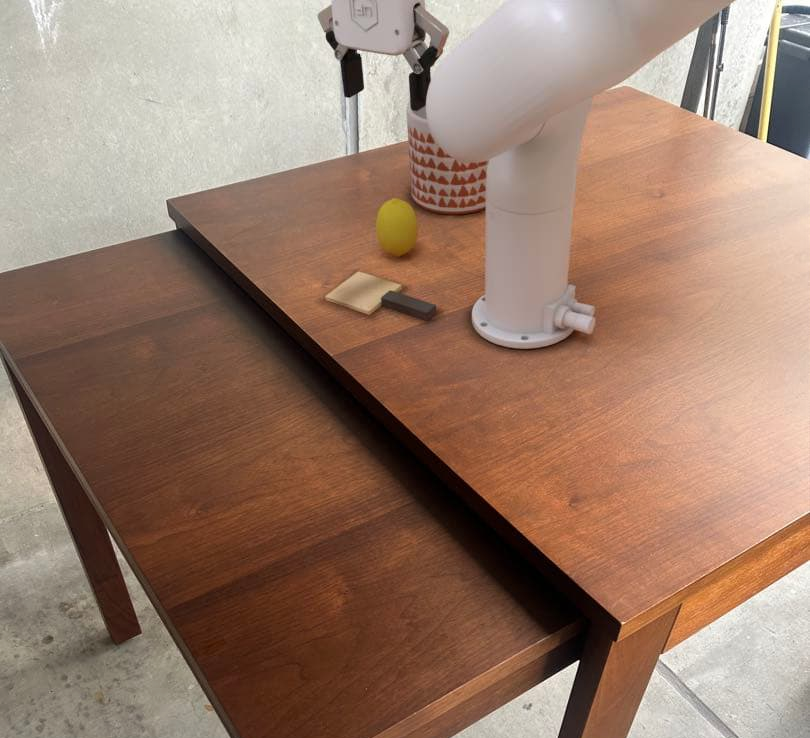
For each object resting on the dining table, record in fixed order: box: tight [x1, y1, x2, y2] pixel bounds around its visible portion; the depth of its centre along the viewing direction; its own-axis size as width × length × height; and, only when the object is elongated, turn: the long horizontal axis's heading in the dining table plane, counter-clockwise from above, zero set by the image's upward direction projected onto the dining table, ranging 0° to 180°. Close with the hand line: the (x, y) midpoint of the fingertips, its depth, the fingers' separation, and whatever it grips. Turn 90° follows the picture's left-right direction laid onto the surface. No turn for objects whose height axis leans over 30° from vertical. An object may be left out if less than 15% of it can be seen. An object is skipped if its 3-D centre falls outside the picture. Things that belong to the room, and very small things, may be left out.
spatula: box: [324, 270, 437, 322], centre depth 108 cm, size 14×7×1 cm, turn 55°
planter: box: [406, 100, 489, 215], centre depth 123 cm, size 14×14×13 cm
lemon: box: [375, 197, 419, 258], centre depth 113 cm, size 6×6×8 cm
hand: (387, 100), depth 102 cm, fingers open, 9 cm apart
